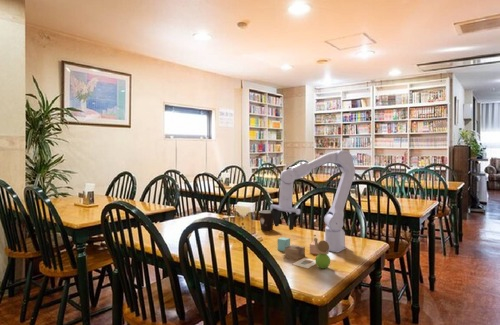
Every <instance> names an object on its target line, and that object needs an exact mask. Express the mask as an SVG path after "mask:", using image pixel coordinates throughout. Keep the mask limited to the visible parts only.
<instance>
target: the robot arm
mask: <svg viewBox="0 0 500 325" xmlns="http://www.w3.org/2000/svg"><path fill="white" fill-rule="evenodd" d="M329 163H330V164H335V165H337V166H338V168H339V169H340V171H341V176H340V178H339V179H340V180H339V182H338V184H337V185H338V186H337V188H336V193H335V195H334V199H333V201H332V204H331V206H330V208H329V209H328V211H327V212H326V214H325V215H324V217H323V221H324V224H325V227H324V229H325V230H324V234H325V235H324V236H325V237H324V241H326V242H327V243H328V245H329V250H328V251H327V252H332V253H337V254H338V253H340V252H342V251H344V250H345V249H347V248H348V247H347V246H346V232H345V230H344V229H343V226H344V216H345V214H344V213H345V212H344V208H345V206H346V202H347V200H348V197H349V194H350V189H351V187H352V184H353V180H354V177H355V175H356V169H355V164H354V163H355V162H354V157H353V155H352V154H351V153H350V151H349V150H346V149H343V150H342V149H341V150H340V149H336V150H334V151H331V152H328V153H325V154H324V155H322V156H321V155H320V157H319V156H318V157H317V158H315V159H313V160H311V161H309V162H305V161H299V162H298V164H296V165H294V166H289V167H288V169H284V170H282V171H281V172H280V175H279V179H280V186H279V196H278V197H279V198H278V200H279V202H278V204H270V211H271V214H272V216H273V219H274V221H273V224H274V227H279V225H280V217H281V214H282V212H286V213H288V220H289V221H288V222H289V223H288V229H289V230H290V231H292V230H294V227H295V225H296V221H297V220H298V218H299V217H300V215H301V211H302V210H301V209H300V208H295V207H293V196H294V193H293V192H294V187H293V186H294V182H295V181H296V180H299V179H301V178H303V177H306V176H307V175H309V174H310V173H311V171H312V170H314V169H315V168H318V167H321V166H323V165H326V164H329Z"/></svg>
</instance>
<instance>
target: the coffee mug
mask: <svg viewBox="0 0 500 325" xmlns="http://www.w3.org/2000/svg"><path fill="white" fill-rule="evenodd" d="M258 216H259V224H260V230H261V231H262V230H264V231H263V232H271V231H270V230H272V231H273V230H274V228H273V227H274V226H275V224H274V219H273V216H272V214H271V209H270V210H269V209H267V210H266V209H264V210H259V211H258Z"/></svg>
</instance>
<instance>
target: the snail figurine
mask: <svg viewBox="0 0 500 325" xmlns="http://www.w3.org/2000/svg"><path fill="white" fill-rule="evenodd" d="M313 242H315V247H316V250H317V251H318V252H319V253H320V254H316V257H315V260H316V264H315V265H317V267H318V268H320V269H327V268H328V267H329V266H330V265H331V258H330V256H329V253H330V251H328V250H329V245H328V243H327V242H326V241H325V240H319V242H318V238H317V235H316V234H314V235H313Z"/></svg>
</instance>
